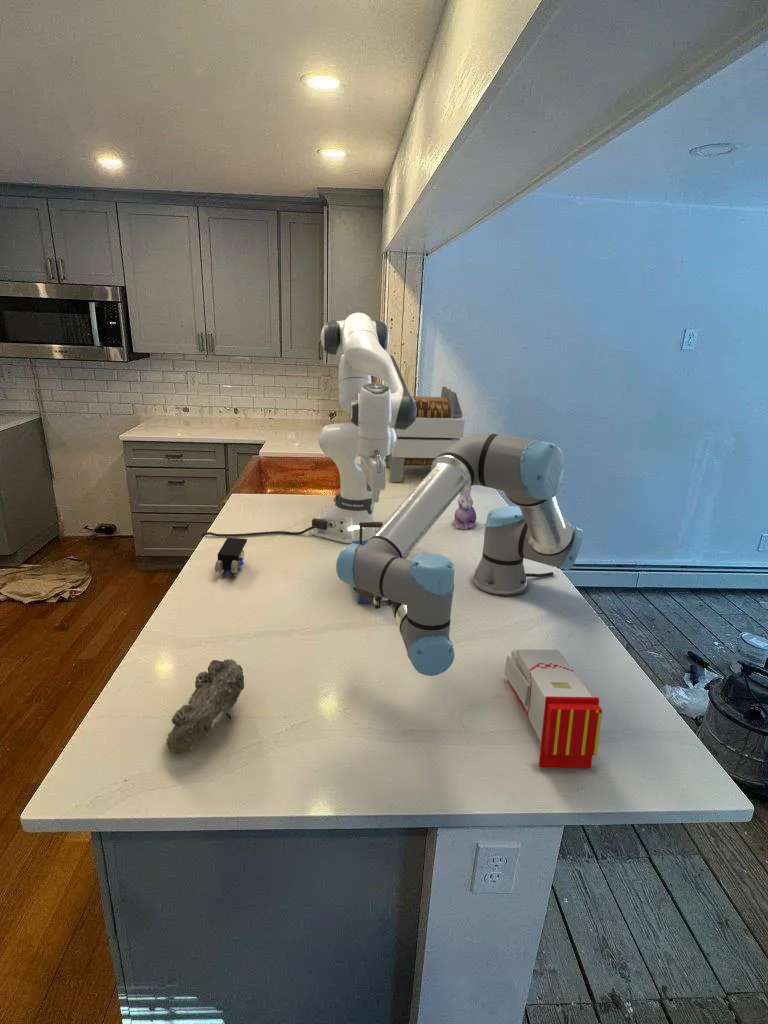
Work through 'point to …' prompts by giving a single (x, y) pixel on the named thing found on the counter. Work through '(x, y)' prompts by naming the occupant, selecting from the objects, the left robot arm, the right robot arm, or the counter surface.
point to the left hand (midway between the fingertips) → (372, 496)
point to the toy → (556, 707)
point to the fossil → (206, 705)
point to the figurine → (465, 511)
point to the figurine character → (230, 556)
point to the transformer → (427, 433)
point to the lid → (366, 525)
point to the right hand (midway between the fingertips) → (394, 567)
